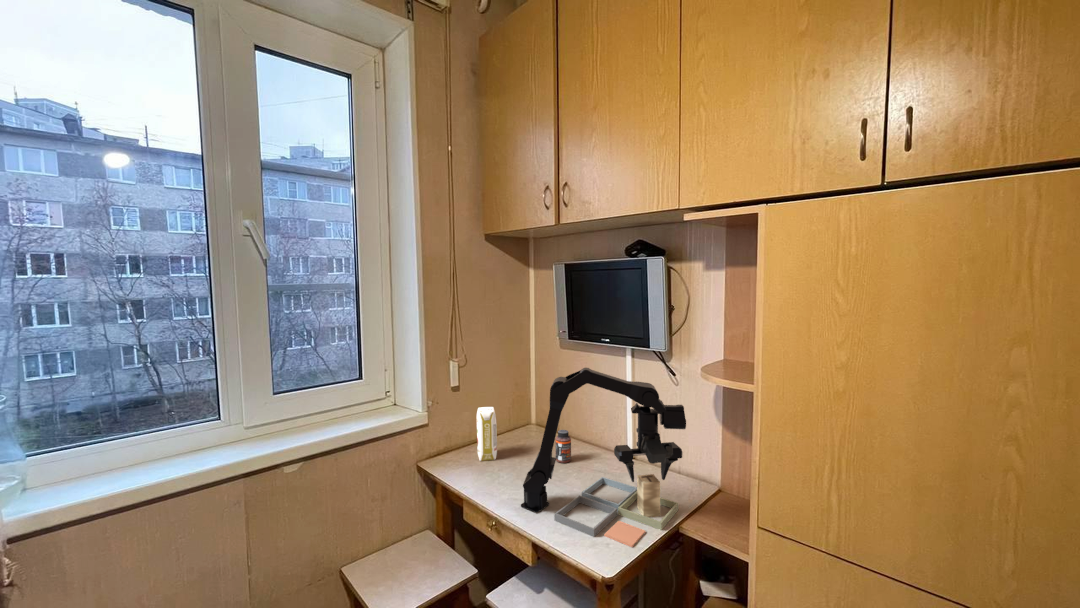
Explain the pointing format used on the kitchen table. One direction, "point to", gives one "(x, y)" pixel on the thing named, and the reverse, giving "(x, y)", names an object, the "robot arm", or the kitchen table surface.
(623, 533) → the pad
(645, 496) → the letter block
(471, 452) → the kitchen table surface
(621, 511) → the tray olive
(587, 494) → the tray slate
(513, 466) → the kitchen table surface
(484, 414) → the juice carton
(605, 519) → the tray charcoal
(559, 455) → the supplement bottle
